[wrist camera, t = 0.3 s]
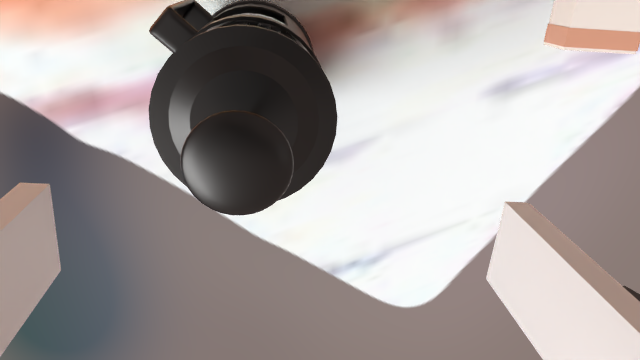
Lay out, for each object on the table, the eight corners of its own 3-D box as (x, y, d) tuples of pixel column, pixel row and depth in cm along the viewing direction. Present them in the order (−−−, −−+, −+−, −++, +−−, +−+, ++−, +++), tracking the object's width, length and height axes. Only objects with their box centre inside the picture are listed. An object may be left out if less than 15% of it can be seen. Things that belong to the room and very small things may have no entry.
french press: (344, 65, 40) (426, 169, 19) (266, 147, 42) (263, 324, 21) (230, -46, 36) (174, -68, 15) (151, 51, 38) (5, 150, 17)
